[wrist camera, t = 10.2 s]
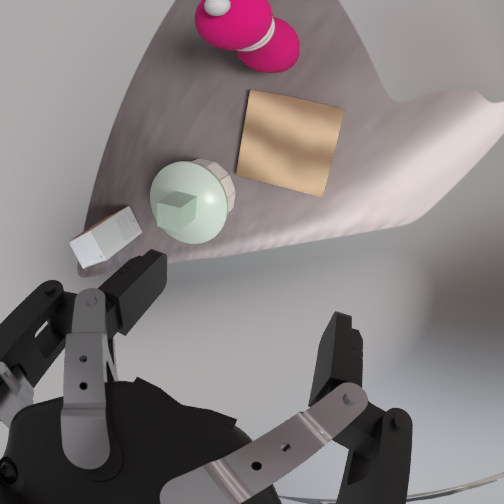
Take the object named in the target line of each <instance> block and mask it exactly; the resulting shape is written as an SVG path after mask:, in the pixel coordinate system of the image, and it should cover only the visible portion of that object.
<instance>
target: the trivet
mask: <svg viewBox="0 0 504 504" xmlns="http://www.w3.org/2000/svg"><path fill="white" fill-rule="evenodd" d="M343 114H344V110H342V109H339V108H335V107H331V106H328V105H324V104H320V103H316V102H311V101H307V100H303V99H298V98H293V97H288V96H283V95H278V94H273V93H267V92H261V91H255V90H250V94H249V100H248V106H247V112H246V117H245V123H244V129H243V135H242V141H241V147H240V154H239V160H238V166H237V173H236V175H237V176H241V177H245V178H249V179H254V180H258V181H262V182H266V183H270V184H274V185H277V186H281V187H285V188H289V189H293V190H296V191H300V192H303V193H307V194H311V195H314V196H318V197H321V198H322V197H323V193H324V189H325V186H326V182H327V178H328V174H329V171H330V167H331V163H332V159H333V155H334V151H335V147H336V143H337V139H338V135H339V131H340V126H341V122H342V118H343Z"/></svg>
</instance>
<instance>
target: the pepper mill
mask: <svg viewBox="0 0 504 504" xmlns="http://www.w3.org/2000/svg"><path fill="white" fill-rule="evenodd" d="M195 24H196V28H197V31H198V32H199V34H200V35H201V37H202V38H203V39H204V40H205V41H206V42H208V43H209V44H211V45H213V46H215V47H217V48H220V49H225V50H236V52H237V54H238V56H239V58H240V59H241V61H242V62H243V63H244V64H246V65H247V66H248V67H250V68H252V69H254V70H256V71H259V72H267V73H269V72H272V73H277V72H283V71H286V70H288V69H289V68H291V67H292V66H293V65H294V64H295V63H296V61H297V59H298V57H299V39H298V36H297V34H296V32H295V30H294V29H293V28H292V27H291V26H290V25H289V24H288V23H286V22H285V21H283V20H281V19H279V18H275V17H273V14H272V9H271V6H270V4H269V2H268V1H267V0H202V1H201V2H200V4H199V5H198V7H197V9H196V13H195Z"/></svg>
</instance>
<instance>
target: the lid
mask: <svg viewBox="0 0 504 504" xmlns="http://www.w3.org/2000/svg"><path fill="white" fill-rule="evenodd" d="M150 203H151V208H152V211H153V214H154V216H155V218H156V220H157V226H160V227H162V228H163V229H164V230H165V231H166V232H167V233H168V234H169V235H170V236H172V237H173V238H175V239H177V240H179V241H182V242H185V243H190V244H199V243H203V242H207V241H209V240H211V239H212V238H213V237H215V236H216V235H217V234H218V233H219V232H220V230H221V229H222V228H223V226H224V224H225V222H226V219H227V215H228V199H227V195H226V192H225V189H224V187H223V185H222V184H221V182H220V180H219V179H218V178H217V176H216V175H215V174H214V173H213V172H212V171H210V170H209V169H208V168H206V167H205V166H203V165H201V164H198V163H195V162H191V161H180V162H175V163H172V164H170V165H168V166H166V167H164V168H163V169H162V170H161V171H160V172H159V173H158V174H157V175H156V177H155V179H154V181H153V183H152V186H151V190H150Z"/></svg>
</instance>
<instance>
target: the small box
mask: <svg viewBox="0 0 504 504" xmlns="http://www.w3.org/2000/svg"><path fill="white" fill-rule="evenodd" d="M141 233H142V230H141V228H140V226H139V224H138V222H137V220H136V218H135V216H134V214H133V212H132V210H131V208H130V206H128V207H126V208H124V209H122V210H120V211H118V212H116V213H114V214H112V215H110V216H108V217H106V218H105V219H103V220H102V221H100V222H99V223H97V224H95V225H94V226H92V227H91V228H89V229H87V230H86V231H84V232H83V233H81V234H80V235H78V236H76V237H75V238H73V239H72V240H71V241H69V243H70V245H71V247H72V249H73V251H74V253H75V255H76V257H77V258H78V260H79V262H80V264H81V266H82V267H83V268H86V267H88V266H91V265H94V264H96V263H99V262H103V261H107V260H108V259H109V258H110V257H112V256H113V255H114V254H115V253H116V252H118V251H119V250H120V249H122V248H123V247H124V246H126V245H127V244H128V243H129V242H131V241H132V240H133V239H134V238H136V237H137V236H138V235H140V234H141Z"/></svg>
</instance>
